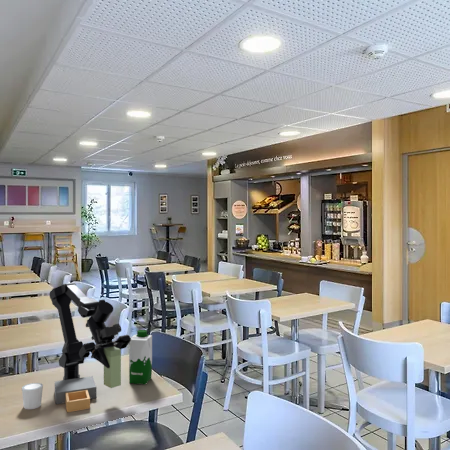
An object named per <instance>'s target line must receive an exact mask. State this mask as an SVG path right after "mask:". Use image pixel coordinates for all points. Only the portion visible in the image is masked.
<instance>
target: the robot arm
mask: <svg viewBox="0 0 450 450" xmlns="http://www.w3.org/2000/svg"><path fill="white" fill-rule="evenodd" d="M49 299H50V300H51V304H52V305H53V307H54V308H55V309H57V312H58V316H59V317H58V318H59V322H60V327H61V331H62V336H63V341H64V344H63V346H62V349H61V353H62V354H61V355H60V358H58V365H59V367H60V368H63V376H62V380H68V379H75V378H81V375H80V374H79V373H80V371H79V370H80V365H81V364H82V365H83V364H84V363H85V358H89V357H90V358H91V359H94V360H96V361H97V362H99V363H100V364H102V365H103V367H104V366H105V367H107V368H109V367H110V366H109V363H108V360H107V358H106V356H105V354H104V349H105V348H109V347H113V346H114V347H116V348H119V349H121V350H122V349H126V348H127V347H128V346H129V342H130V341H131V336H130V335H129V334H123V335H119V333H120V332H122V327H121V325H120V323H114V324H113V325H112V326H107V325H106V323H105V322H107V321H108V319H109V318H110V317H111V315H112V314H113V312H114V306H113V304H111V303H110V302H108V301H106V300H105V299H99V300H96V299H94V298H91V297H88V296H87V295H86V294H85V293H84V292H83V291H82V290H81V288H79V287H78V286H77V283H75V282H65V283H62V284H61V285H59V286H57V287H54V288H52V289H51V290H50V291H49ZM72 302H73V303H74V305H76V306H77V312H78V313H79V315H80V317H81V318H88V319H87V320H86V323H85V328H88V329H89V331H90V333H91V337H90V338H91V340H94V341H92V342H87V343H83V341H82V340H80V341H79V340H78V338H77V333H76V330H75V325H74V319H73V315H72V310H71V307H70V306H71V303H72ZM116 335H117V336H118V335H119V336H118V337H117V338H116V340H114V339H115V336H116ZM90 354H91V355H90Z"/></svg>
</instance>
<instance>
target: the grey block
mask: <svg viewBox="0 0 450 450" xmlns="http://www.w3.org/2000/svg"><path fill="white" fill-rule="evenodd" d="M96 398H97V384H96V382H95V379H94V376H93V375H91V376H84V377H80V378H75V379H68V380H63V379H62V380H56V381H54V399H55V404H56V405H59V404H64V403H65V408H66V413H72V412H77V411H83V410H90V409H91V399H96Z"/></svg>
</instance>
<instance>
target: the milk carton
mask: <svg viewBox="0 0 450 450" xmlns="http://www.w3.org/2000/svg"><path fill="white" fill-rule="evenodd" d="M136 333H137V334H133V336H130V338H131V341H130V342H129V344H128V347H129V348H128V350H129V351H128V353H129V355H128V361H129V362H128V366H129V367H128V374H129V376H128V379H129V380H128V381H129V384H131V383H134V385H135V384H136V385H147V384H148V383H149V381H150V380H151V379H152V370H153V334H148V330H147V329H138V330H137V332H136ZM146 383H147V384H146Z"/></svg>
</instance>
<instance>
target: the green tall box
mask: <svg viewBox="0 0 450 450" xmlns="http://www.w3.org/2000/svg"><path fill="white" fill-rule="evenodd" d="M104 354H105V356H106V358H107V360H108V363H109V366H110V367H109V368H107V367H105V366H104V365H103V385H104V386H106V387H108V388H110V389H113V388H116V387H120V386H121V385H122V349H119V348H116V347H114V346H113V347H109V348H105V349H104Z"/></svg>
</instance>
